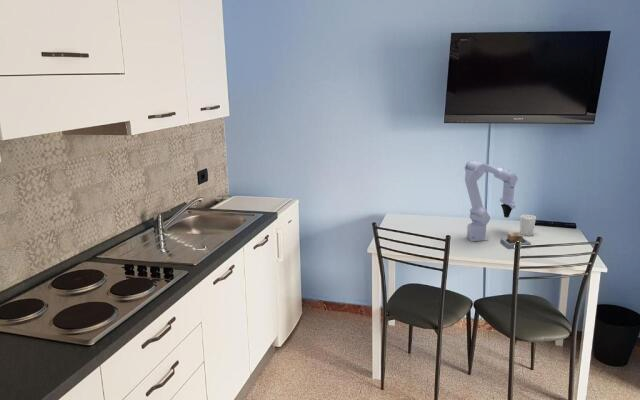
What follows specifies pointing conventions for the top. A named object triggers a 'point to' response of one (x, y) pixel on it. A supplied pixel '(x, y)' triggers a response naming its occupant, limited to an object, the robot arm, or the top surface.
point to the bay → (511, 246)
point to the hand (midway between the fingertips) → (506, 217)
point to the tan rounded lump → (514, 238)
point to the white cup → (527, 224)
